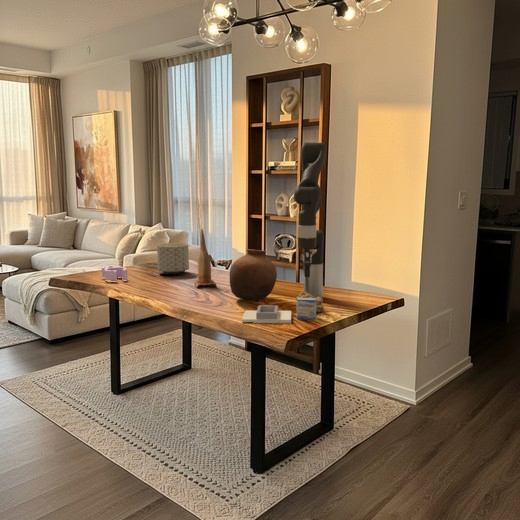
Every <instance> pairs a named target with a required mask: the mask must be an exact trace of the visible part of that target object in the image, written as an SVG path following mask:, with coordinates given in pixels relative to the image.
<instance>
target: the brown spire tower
mask: <svg viewBox="0 0 520 520" xmlns="http://www.w3.org/2000/svg"><path fill="white" fill-rule="evenodd" d="M211 262H212V261H211V258H210V255H209V253H208V249H207V245H206V240H205V232H204V229H203V228H201V229H200V248H199V253H198V258H197V270H198V271H197V272H198V273H197V275H198V280H195V281H194V286H195V288H196V289H198V287H199V286H202V285H213V286H215V287H217V284H216V282H215V281H214V280H213V279H212V265H211V264H212V263H211Z"/></svg>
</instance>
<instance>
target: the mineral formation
mask: <svg viewBox="0 0 520 520" xmlns="http://www.w3.org/2000/svg"><path fill="white" fill-rule="evenodd" d="M298 298H316V297H313V296H312V295H311V294H309V293H307V292H305V293H304V291H301V292H300V293H299V294H298V296H296V297H295V305H297V299H298ZM323 301H324V299H323V298H321V297H317V298H316V313H317V312H320V311H321V310H325V306H323ZM295 309H296V310H295V311H297V306H296V307H295Z"/></svg>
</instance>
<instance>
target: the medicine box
mask: <svg viewBox="0 0 520 520" xmlns="http://www.w3.org/2000/svg"><path fill="white" fill-rule="evenodd" d="M296 307H297V310H296V319H297V320H299V321H300V320H301V321H303V320H305V321H316V319H317V312H316V298H298V299H297V304H296Z"/></svg>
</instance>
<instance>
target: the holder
mask: <svg viewBox="0 0 520 520" xmlns="http://www.w3.org/2000/svg"><path fill="white" fill-rule="evenodd" d="M242 322H253V323H252V324H291V323H292V310H279V305H266V304H265V305H261V304H260V305H258V306H257V309H256V310H244V313H243V316H242V318H241V323H242Z"/></svg>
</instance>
